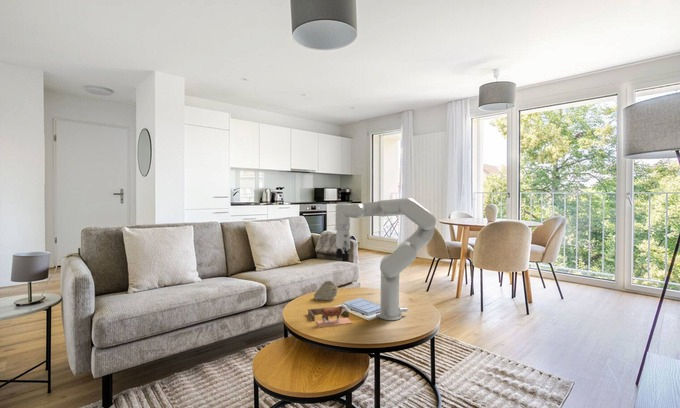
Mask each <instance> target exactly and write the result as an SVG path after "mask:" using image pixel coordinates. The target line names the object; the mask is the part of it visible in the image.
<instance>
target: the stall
mask: <svg viewBox="0 0 680 408" xmlns="http://www.w3.org/2000/svg"><path fill="white" fill-rule="evenodd" d="M331 307H332V306H330V307H329V306H328V307H326V308H331ZM324 308H325V307H319V308H309V309H307V314H308V317H310V319H311V321H312V322H315V318H316V317H315V315H319V314H321V315H322V313H321V311H322V309H324ZM342 314H343V315H345V316H346V317H345V318H349V317H350V312H349V310H347V311H344V312H343V313H342Z"/></svg>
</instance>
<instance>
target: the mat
mask: <svg viewBox="0 0 680 408" xmlns="http://www.w3.org/2000/svg"><path fill="white" fill-rule="evenodd" d="M339 319H340V320H338V321H339V322H337V321H336V320H337V318H329V319H328V320H329V321H330V324H329V323H328V322H327V320H326V321H325V322H323V320H316V324H317V325H318V326H319V328H324V327H332V326H344V325H350V324H351V325H352V323H353V322H352V321H351V320H350V319H349V317H341V318H340V317H339Z"/></svg>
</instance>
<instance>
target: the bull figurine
mask: <svg viewBox="0 0 680 408" xmlns="http://www.w3.org/2000/svg"><path fill="white" fill-rule="evenodd" d="M330 307H331V308H327V307H323V308H324V309H322V311H321V315H322V316H321V319H322V320H323V322H325V321H326V320H327V322H328V323H329V324H330V321H329V320H330V319H333V317H336V319H337V320H336V321H337V322H339V321H338V320H340V319H339V318H340V316H341V315H343V314H344V313H343V312H344V311H349V309H348V307H347V305H345V304H344V303H343V304H338V305H336V306H330ZM329 317H330V318H329Z"/></svg>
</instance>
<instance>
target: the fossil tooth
mask: <svg viewBox="0 0 680 408" xmlns="http://www.w3.org/2000/svg"><path fill="white" fill-rule="evenodd" d="M338 291H339V287H338V286H336V284H335V283H334V282H333V281H332V280H325V281H323V284H322V285H321V286H319V288H318V290H316V291H315V293H314V294H313V297H314V300H315V301H317V300H322V301H323V300H324V301H329V302H330V301H333V300H334V299H335V297H336V296H337V294H338Z"/></svg>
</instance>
